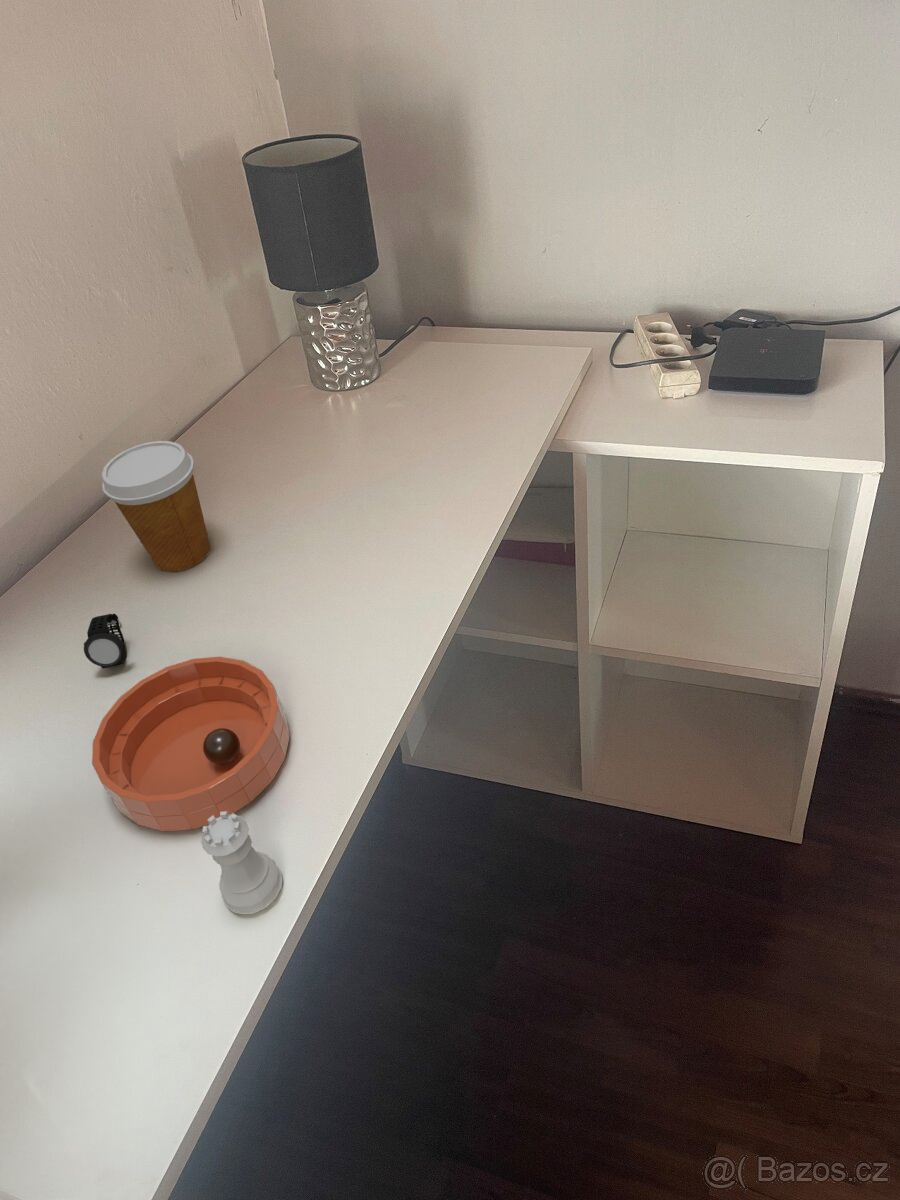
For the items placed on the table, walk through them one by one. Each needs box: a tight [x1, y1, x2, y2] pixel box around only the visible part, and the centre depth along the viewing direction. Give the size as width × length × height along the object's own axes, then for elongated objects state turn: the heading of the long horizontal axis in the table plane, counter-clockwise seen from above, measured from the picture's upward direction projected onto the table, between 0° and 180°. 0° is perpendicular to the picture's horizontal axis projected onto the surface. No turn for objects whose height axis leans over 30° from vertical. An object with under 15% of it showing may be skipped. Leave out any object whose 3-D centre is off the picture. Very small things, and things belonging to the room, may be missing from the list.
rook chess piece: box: [200, 811, 283, 915], centre depth 61 cm, size 4×4×8 cm
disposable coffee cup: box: [101, 440, 211, 573], centre depth 93 cm, size 10×10×12 cm
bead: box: [203, 728, 240, 765], centre depth 72 cm, size 3×3×3 cm
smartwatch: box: [83, 613, 127, 669], centre depth 83 cm, size 4×5×5 cm
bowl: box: [91, 656, 290, 832], centre depth 72 cm, size 15×15×4 cm
